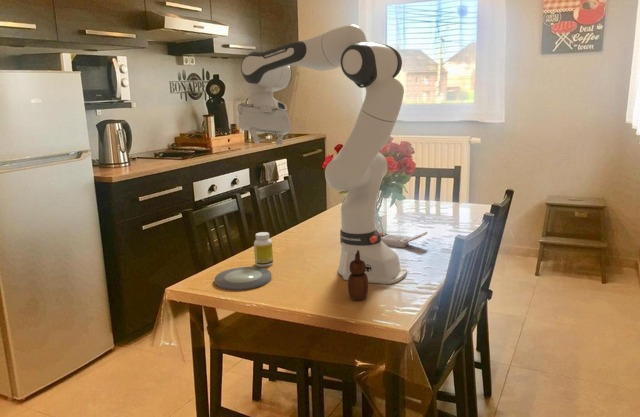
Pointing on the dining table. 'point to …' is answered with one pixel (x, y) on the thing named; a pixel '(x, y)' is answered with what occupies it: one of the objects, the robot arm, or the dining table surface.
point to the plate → (243, 278)
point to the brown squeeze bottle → (358, 279)
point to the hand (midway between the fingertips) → (268, 143)
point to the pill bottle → (263, 250)
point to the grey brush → (398, 240)
